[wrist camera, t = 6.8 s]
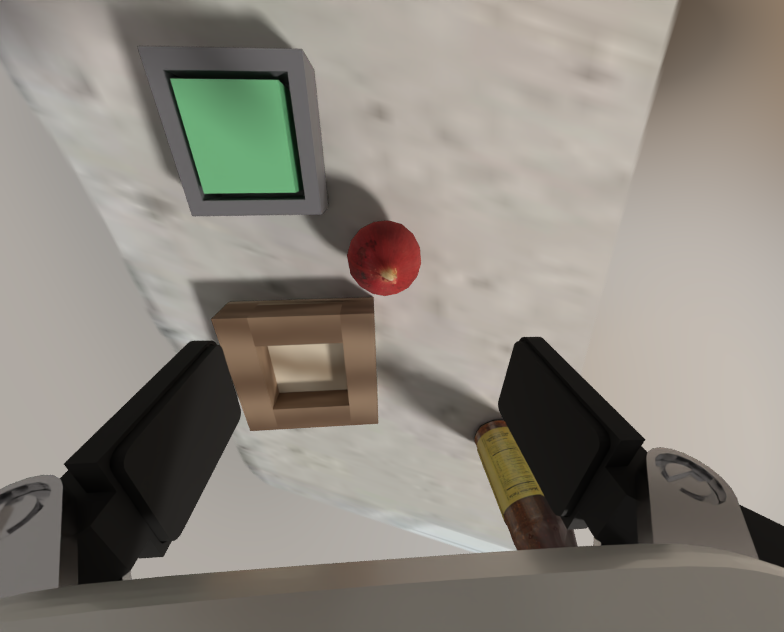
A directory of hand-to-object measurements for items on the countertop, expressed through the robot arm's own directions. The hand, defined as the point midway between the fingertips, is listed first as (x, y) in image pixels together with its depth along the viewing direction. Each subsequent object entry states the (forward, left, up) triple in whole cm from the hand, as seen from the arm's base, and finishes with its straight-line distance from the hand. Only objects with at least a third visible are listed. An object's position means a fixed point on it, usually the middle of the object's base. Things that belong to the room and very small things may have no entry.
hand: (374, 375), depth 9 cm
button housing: (-7, -8, -18) cm, 21 cm away
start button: (-7, -8, -17) cm, 20 cm away
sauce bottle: (+27, +16, -19) cm, 36 cm away
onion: (+1, +1, -19) cm, 19 cm away
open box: (+13, -7, -18) cm, 23 cm away
